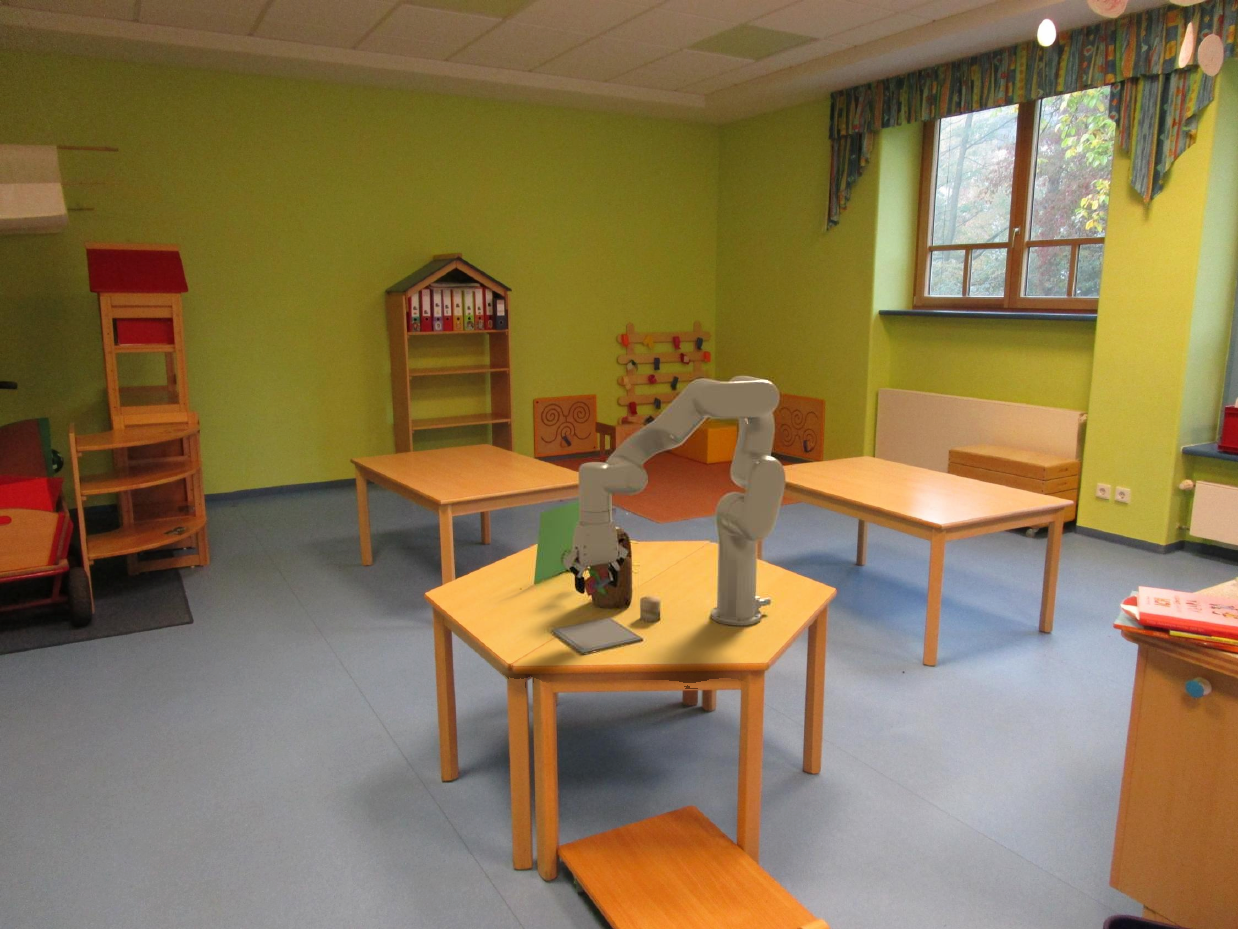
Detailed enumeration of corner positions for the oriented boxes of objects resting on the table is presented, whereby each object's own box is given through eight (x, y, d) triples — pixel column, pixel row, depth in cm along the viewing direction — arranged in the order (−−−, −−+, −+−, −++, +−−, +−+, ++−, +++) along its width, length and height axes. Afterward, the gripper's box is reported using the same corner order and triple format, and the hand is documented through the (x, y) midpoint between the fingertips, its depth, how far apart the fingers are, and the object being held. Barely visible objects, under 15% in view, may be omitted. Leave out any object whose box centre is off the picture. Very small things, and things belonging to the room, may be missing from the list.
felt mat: (608, 619, 219) (608, 616, 219) (642, 640, 205) (642, 637, 205) (550, 631, 211) (550, 628, 211) (582, 654, 197) (582, 652, 197)
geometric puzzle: (586, 594, 200) (602, 563, 201) (569, 586, 205) (586, 556, 207) (607, 606, 204) (623, 576, 206) (590, 598, 210) (606, 568, 211)
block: (588, 607, 227) (587, 532, 223) (595, 597, 234) (594, 525, 230) (629, 610, 225) (629, 535, 221) (635, 600, 232) (635, 527, 228)
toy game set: (604, 614, 232) (614, 529, 226) (532, 584, 245) (539, 503, 239) (649, 591, 250) (659, 512, 243) (579, 565, 263) (587, 489, 256)
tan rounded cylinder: (653, 613, 222) (653, 595, 221) (664, 620, 218) (664, 600, 217) (636, 617, 220) (636, 598, 219) (647, 623, 216) (647, 604, 215)
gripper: (620, 508, 210) (620, 578, 213) (554, 517, 201) (556, 590, 205) (636, 514, 204) (636, 586, 207) (569, 525, 195) (570, 600, 198)
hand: (596, 588), depth 206 cm, fingers closed on geometric puzzle, 8 cm apart
